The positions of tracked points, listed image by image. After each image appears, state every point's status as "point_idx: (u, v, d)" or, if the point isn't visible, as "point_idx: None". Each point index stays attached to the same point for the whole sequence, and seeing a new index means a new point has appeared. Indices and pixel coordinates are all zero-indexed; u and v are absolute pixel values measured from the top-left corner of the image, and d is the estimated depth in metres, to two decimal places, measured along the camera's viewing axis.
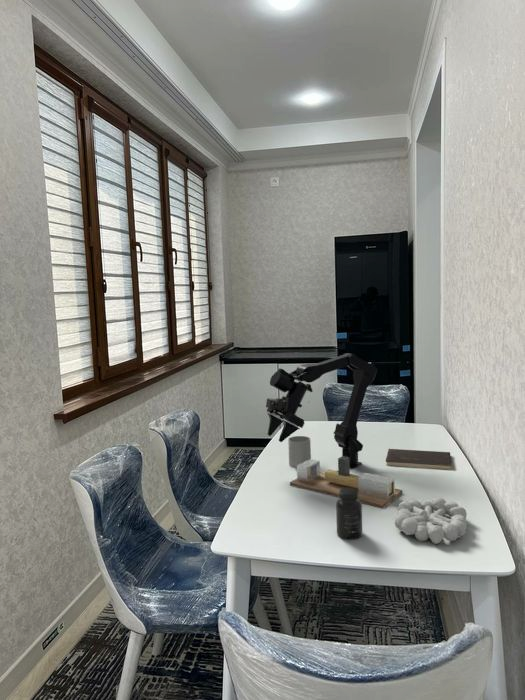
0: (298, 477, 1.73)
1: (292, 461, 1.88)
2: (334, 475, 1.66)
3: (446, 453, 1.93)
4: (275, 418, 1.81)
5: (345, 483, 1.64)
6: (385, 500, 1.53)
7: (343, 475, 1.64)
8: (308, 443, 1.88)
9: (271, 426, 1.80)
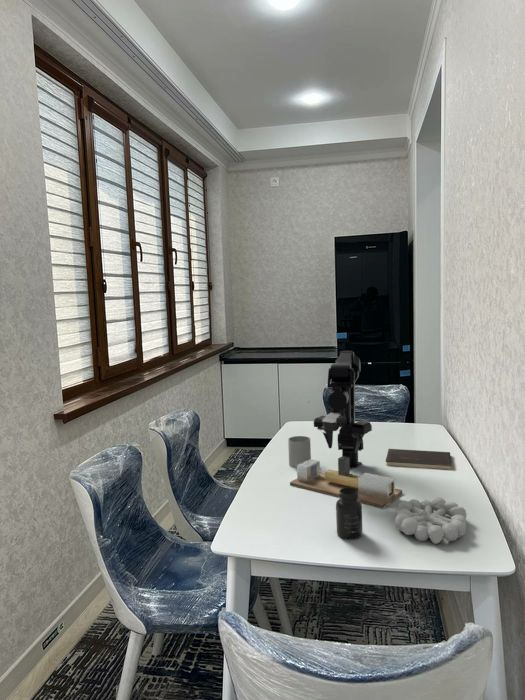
0: (298, 477, 1.73)
1: (292, 461, 1.88)
2: (334, 475, 1.66)
3: (446, 453, 1.93)
4: None
5: (345, 483, 1.64)
6: (385, 500, 1.53)
7: (343, 475, 1.64)
8: (308, 443, 1.88)
9: (329, 439, 1.67)
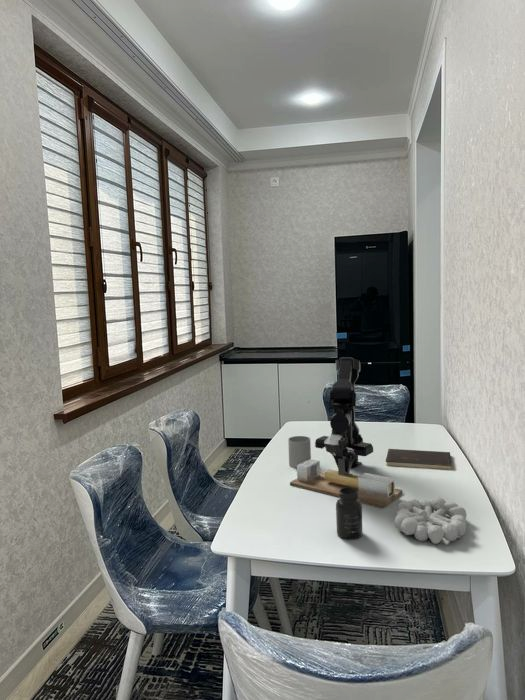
0: (298, 477, 1.73)
1: (292, 461, 1.88)
2: (334, 475, 1.66)
3: (446, 453, 1.93)
4: None
5: (345, 483, 1.64)
6: (385, 500, 1.53)
7: (343, 475, 1.64)
8: (308, 443, 1.88)
9: None
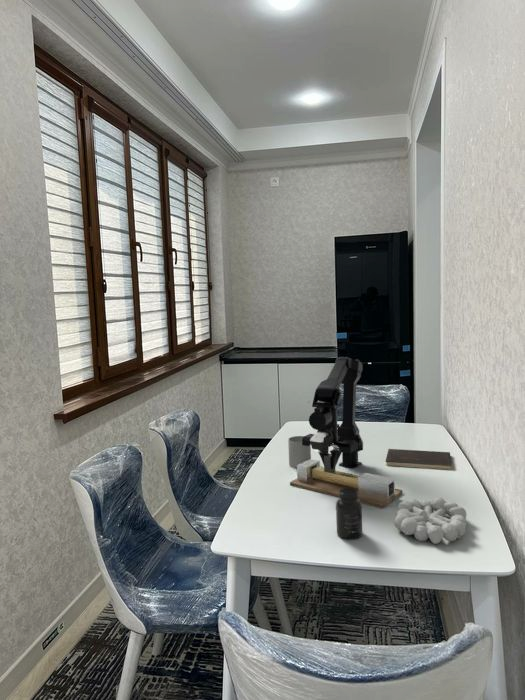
0: (298, 477, 1.73)
1: (292, 461, 1.88)
2: (320, 472, 1.70)
3: (446, 453, 1.93)
4: None
5: (331, 480, 1.67)
6: (385, 500, 1.53)
7: (329, 472, 1.67)
8: None
9: None
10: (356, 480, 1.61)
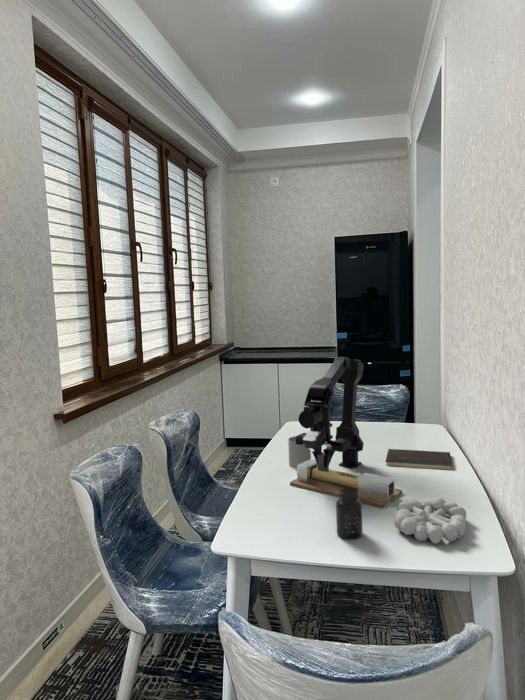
0: (298, 477, 1.73)
1: (292, 461, 1.88)
2: (313, 471, 1.71)
3: (446, 453, 1.93)
4: (316, 447, 1.71)
5: (324, 478, 1.69)
6: (385, 500, 1.53)
7: (322, 470, 1.69)
8: None
9: None
10: (348, 479, 1.63)
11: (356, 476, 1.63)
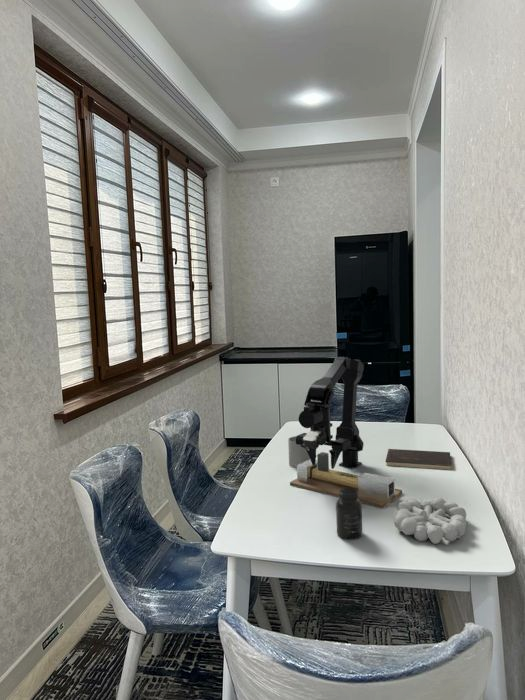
0: (298, 477, 1.73)
1: (292, 461, 1.88)
2: (313, 471, 1.71)
3: (446, 453, 1.93)
4: None
5: (324, 478, 1.69)
6: (385, 500, 1.53)
7: (322, 470, 1.69)
8: None
9: (312, 456, 1.72)
10: (348, 479, 1.63)
11: (356, 476, 1.63)
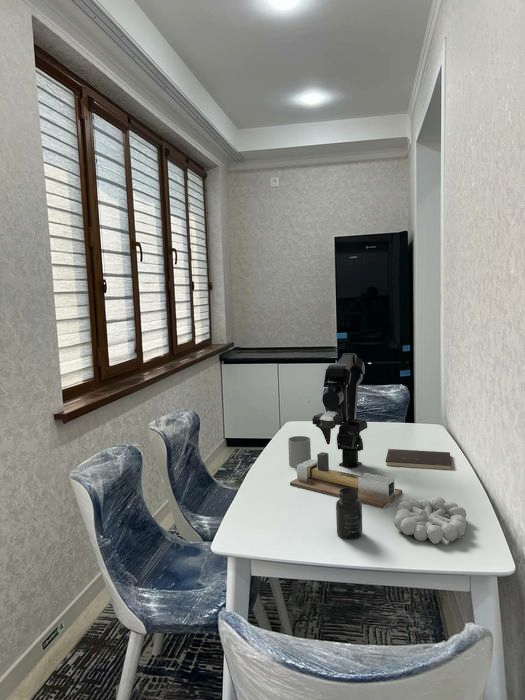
0: (298, 477, 1.73)
1: (292, 461, 1.88)
2: (313, 471, 1.71)
3: (446, 453, 1.93)
4: None
5: (324, 478, 1.69)
6: (385, 500, 1.53)
7: (322, 470, 1.69)
8: (308, 443, 1.88)
9: (327, 435, 1.75)
10: (348, 479, 1.63)
11: (356, 476, 1.63)
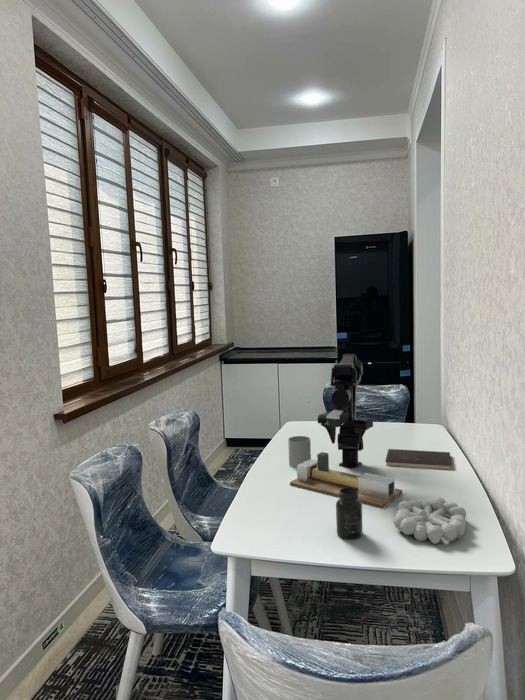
0: (298, 477, 1.73)
1: (292, 461, 1.88)
2: (313, 471, 1.71)
3: (446, 453, 1.93)
4: None
5: (324, 478, 1.69)
6: (385, 500, 1.53)
7: (322, 470, 1.69)
8: (308, 443, 1.88)
9: (332, 434, 1.76)
10: (348, 479, 1.63)
11: (356, 476, 1.63)
